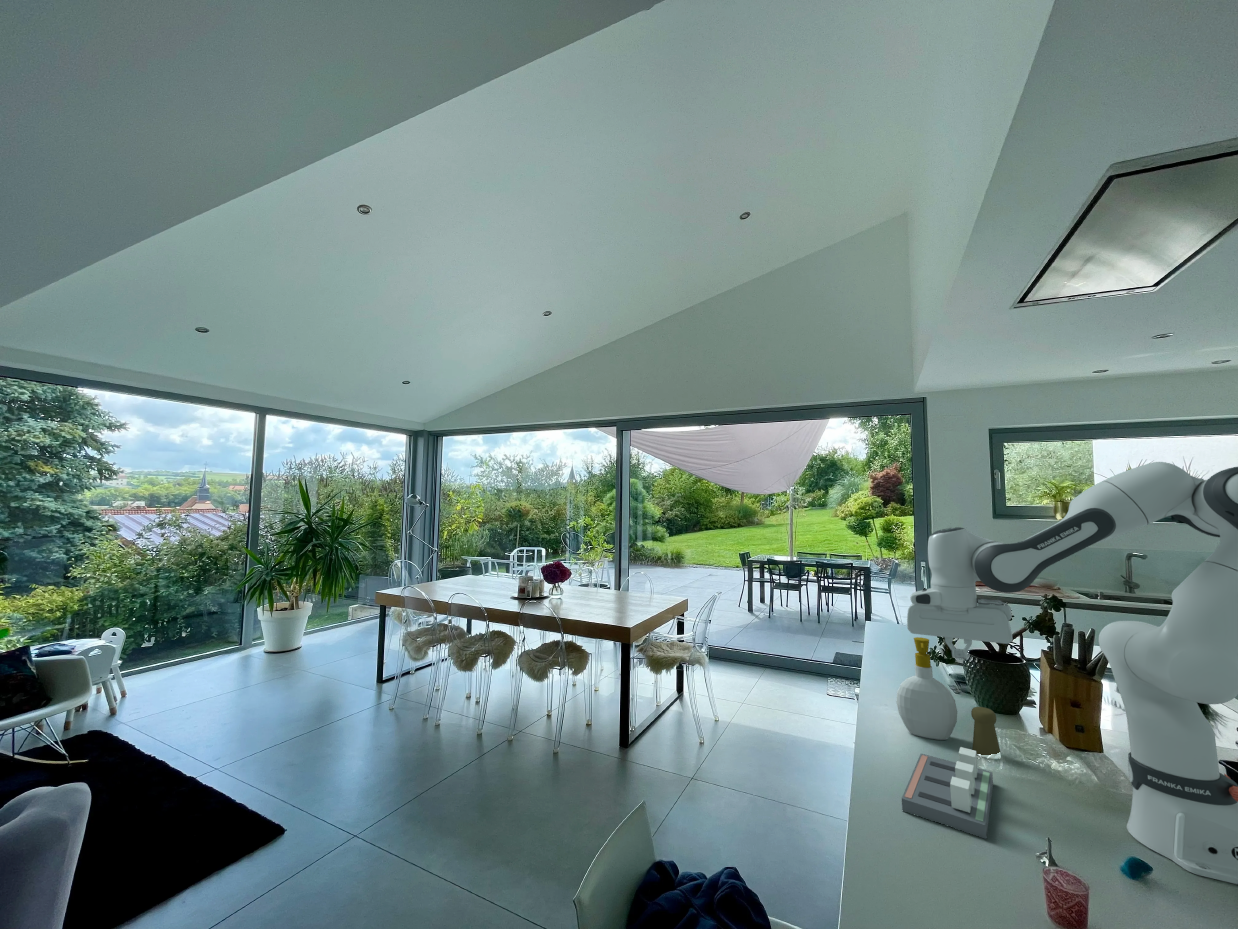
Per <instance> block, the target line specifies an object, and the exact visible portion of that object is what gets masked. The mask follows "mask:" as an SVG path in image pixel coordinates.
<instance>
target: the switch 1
mask: <svg viewBox="0 0 1238 929" xmlns="http://www.w3.org/2000/svg"><path fill="white" fill-rule="evenodd" d="M977 756H978V755H977V754H976V751H975V750H972V749H970V748H966V747H962V746H960V747H959V751H958V761H959V762H963V763H967V764H970V765H974V776H975V778H977V773H978V769H979V767H978V757H977Z"/></svg>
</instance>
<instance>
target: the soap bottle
mask: <svg viewBox="0 0 1238 929" xmlns="http://www.w3.org/2000/svg"><path fill="white" fill-rule="evenodd" d="M913 640H914V641H913V642H914V646H915V650H916V652H915V654H914V655H915V656H914V657H915V658H914V659H915V663H914V674H915V675H912V676H910V677H907V678H905V680H903V681H902V682H901V683H900V685H899V687H898V688H897V691H896V700H895V702H896V706H897V711H898V714H899V717H900V718H901V720H902V722H903V724H904V727H905V728H906V729H907V731H908V733H910V734H912V735H914V736H917V737H921V738H926V739H929V740H937V741H943V740H948V739H949V738H950V737H951V736H952V734H953V731H954V729H955V727H956V724H957V721H958V708H957V705H956V704H957V703H956V700H955V698H954V696H953V694H952V692H951V690H950V689H949V688H948V687H947V686H946V685H945V684H944V683H942V682H941V681H939V680H938V679H936V678H934V677H933V676H934V675H933V666H932V665H931V664H932V663H931V655H930V653H929V646H930V639H929V638H926V637H922V636H921V637H918V636H917V637H913Z"/></svg>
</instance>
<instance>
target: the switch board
mask: <svg viewBox="0 0 1238 929" xmlns="http://www.w3.org/2000/svg"><path fill="white" fill-rule="evenodd" d="M956 762H957V761H956ZM956 762H955V761H951V760H949V759H948V760H947V759H944V758H940V757H936V756H934V755H933V756H932V755H929V754H925V753H920V755H919V756H918V758H917V761H916V763H915V765H914V769H913V770H912V773H911V776H910V778H909V780H908V783H907V785H906V788H905V789H904V792H903V794H902V797H901V811H902V810H903V811H905V812H904V813H906V812H909V813H911V814H910V815H912V814H915V815H918V816H921V817H923V818H922V819H924V818H927V819H930V820H932V821H931V822H933V821H935V822H934V823H936V822H939V823H941V824H940V825H942V824H945V825H948V826H952V827H954V828H956V829H955V830H957V829H959V830H958V831H960V830H962V831H961V832H963V831H964V833H967V834H969V833H970V835H972V834H973V835H972V836H975V835H976V837H978V836H979V838H982V839H984V840H987V838H988V828H989V821H990V812H991V804H992V796H993V788H994V777H993V771H990V770H986V769H982V768H978V773H977V778H975V792H974V794H971V802H972V805H971V811H970V813H969V812H966V811H962V810H959V809H956V808H953V807H952V803H951V790H950V783H951V779H952V776H953V777H956V774H955V766H956ZM903 811H902V812H903ZM909 813H908V814H909ZM915 815H914V816H915ZM918 816H917V817H918ZM921 817H920V818H921ZM927 819H926V820H927ZM930 820H929V821H930ZM939 823H938V824H939ZM945 825H944V826H945ZM948 826H947V827H948ZM954 828H953V829H954Z"/></svg>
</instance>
